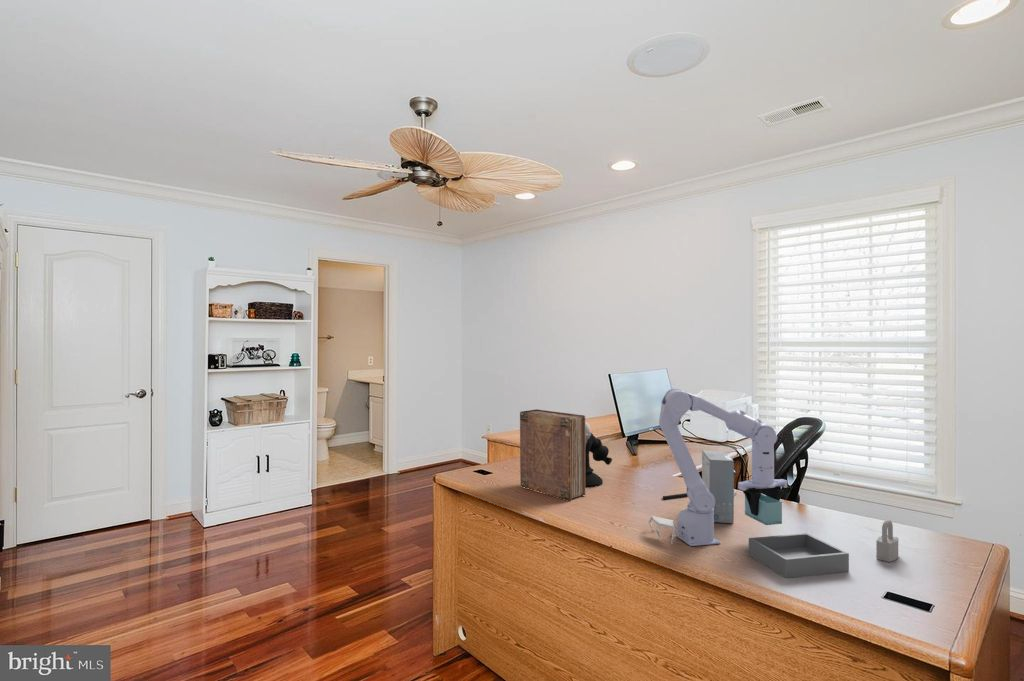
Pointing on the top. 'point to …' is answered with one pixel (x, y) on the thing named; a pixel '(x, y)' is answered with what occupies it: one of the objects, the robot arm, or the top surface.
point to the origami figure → (664, 525)
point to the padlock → (887, 543)
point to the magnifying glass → (682, 496)
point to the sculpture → (594, 457)
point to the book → (553, 453)
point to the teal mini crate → (766, 510)
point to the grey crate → (798, 555)
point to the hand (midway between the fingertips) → (763, 513)
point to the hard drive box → (719, 483)
